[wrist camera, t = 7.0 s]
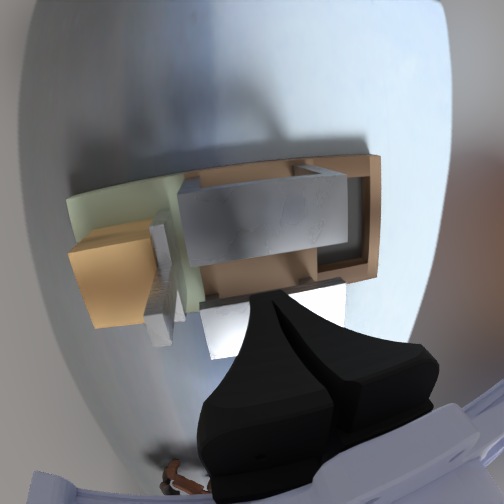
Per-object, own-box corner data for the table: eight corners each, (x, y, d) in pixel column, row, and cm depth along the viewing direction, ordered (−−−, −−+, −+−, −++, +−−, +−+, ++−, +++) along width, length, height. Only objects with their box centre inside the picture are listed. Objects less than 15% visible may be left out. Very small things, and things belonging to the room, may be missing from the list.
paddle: (187, 291, 20) (184, 380, 12) (176, 292, 20) (167, 382, 12) (170, 208, 18) (147, 262, 10) (158, 210, 18) (127, 265, 10)
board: (368, 269, 25) (376, 277, 23) (108, 313, 22) (104, 323, 21) (370, 154, 21) (380, 155, 19) (74, 195, 18) (65, 199, 17)
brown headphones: (207, 482, 36) (184, 516, 28) (170, 445, 37) (141, 477, 29) (265, 475, 32) (245, 517, 24) (224, 433, 32) (195, 475, 25)
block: (175, 284, 20) (170, 319, 16) (111, 294, 20) (95, 328, 16) (160, 216, 18) (149, 238, 14) (92, 229, 18) (67, 253, 14)
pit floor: (359, 256, 24) (361, 257, 24) (310, 265, 23) (311, 266, 23) (360, 173, 21) (362, 173, 21) (306, 177, 21) (308, 178, 20)
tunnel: (311, 288, 22) (342, 332, 17) (207, 306, 21) (211, 359, 16) (306, 163, 19) (346, 174, 13) (184, 178, 18) (176, 195, 12)
